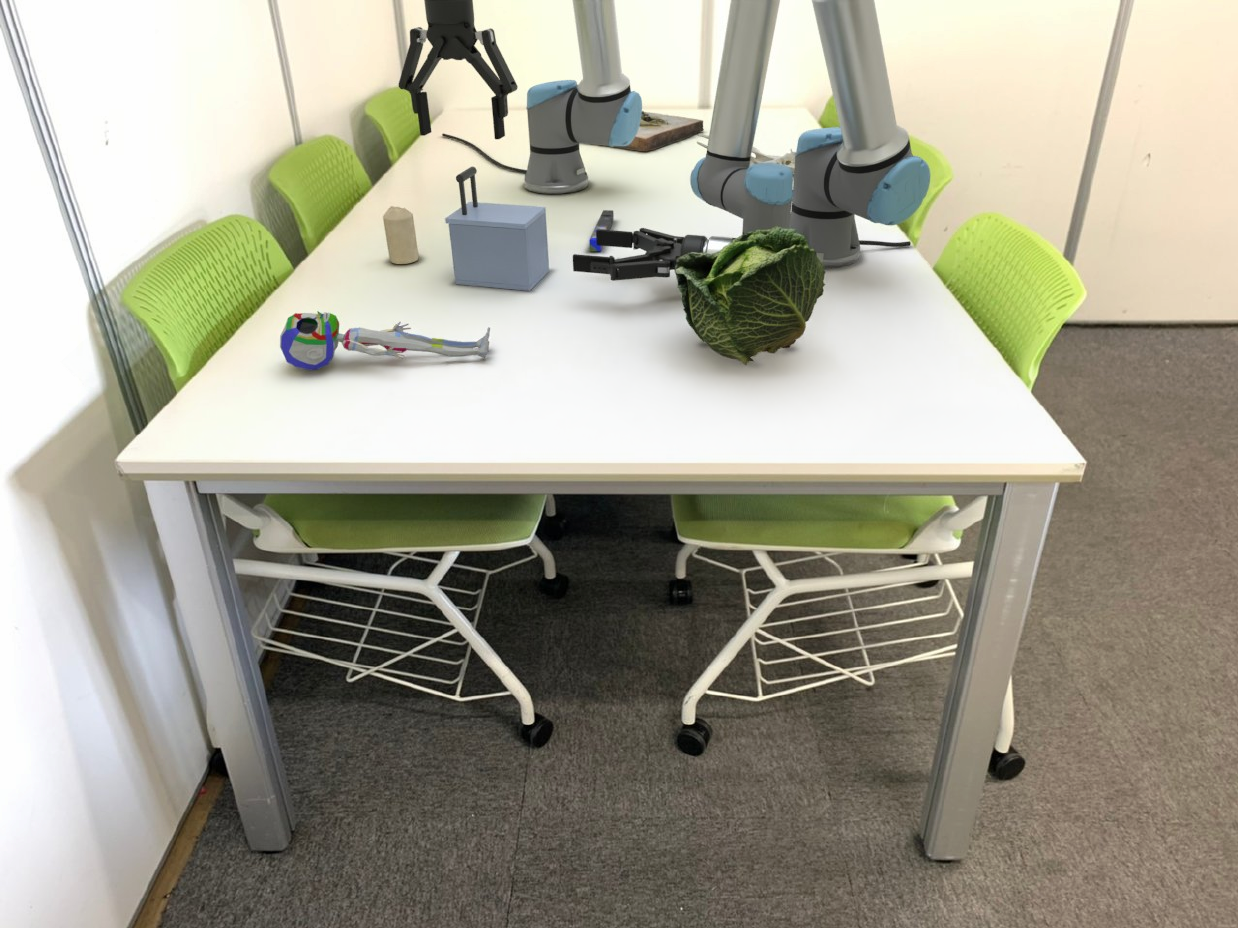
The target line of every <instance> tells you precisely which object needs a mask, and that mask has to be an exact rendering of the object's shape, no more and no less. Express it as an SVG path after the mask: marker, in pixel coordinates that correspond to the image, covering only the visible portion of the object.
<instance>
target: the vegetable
mask: <svg viewBox="0 0 1238 928" xmlns="http://www.w3.org/2000/svg"><path fill="white" fill-rule="evenodd" d="M735 238H736V239H734V240H732V241H731V243H730V244H728V245H725V246H723V248H722V249H721V250H720V251H718V252H715V253H713V254H709V253H695V252H691V253H688V254H685V255H683V256H682V257H679V258H678V259H677V261H676V262H677V264H676V266H675V270H673V271H674V273H675V278H676V282H677V287H676V288H677V290H678V291H679V292H680V293H681V303H682V306H683V312H684V313H685V320H686V322H687V323H688V325H689V327H690V328H691V329H692V330H693V332H694V333H695V335H697V337H698V338H699V339H700V340H701V341H702V342H703V343H705V344H706V345H707V346H708V347H709V349H711V350H712V351H713V352H715V354H716V353H717V354H718V355H720V356H722V357H724V358H727V359H732V360H737V361H739V362H741V363H742V364H743V365H745V366H747V365H748V363H749V362H753V363H754V362H755V360H754V359H753V357H755V356H756V355H758V354H760V353H762V352H764V353H768V354H775V353H776V352H778V350H781V349H789V348H791V346H792V345H795V343H796V341H797V340H798V339H800V338H801V337H802V336H803V335H804V334H805V332H806V328H807V324H806V323H807V322H809V320H810V319H811V316H812V314H813V311H814V307H815V305H816V304H817V303H818V302H817V301H818V299H819V298H820V297H822V296H823V295H824V291H825V290H824V286H825V285H826V283H825V282H824V281H825V274H826V271H825V268H823V264H822V262H821V261H820V260H819V258H818V257H817V253H816V252H815V250H814V249H809V247H808V242H807V239H806V237H805V236H803V235H800V234H798V233H796V230H795V229H782V228H781V227H778V226H776V227H774V228H772V229H769V230H756V231H751V232H747V233H745V234H743V235H742V234H741V235H739V236H738V237H735Z"/></svg>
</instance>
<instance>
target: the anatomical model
mask: <svg viewBox="0 0 1238 928" xmlns="http://www.w3.org/2000/svg"><path fill="white" fill-rule="evenodd" d="M697 137H699V138H704V139H707V140H709V135H707V134H704V133H697ZM696 144H697V145H699V146H701V147H703V148H704V149H706V150H707V146H708V145H707V144H705V143H703V142H699V141H696ZM789 150H790V153H789V152H787V153H785V154H784V155H782V156H781V155H771V154H765V153H763V152H761V151H760V149H758V148H757V147H755V146H753V148H752V153H751V154H754V155H755V157H754V156H752V155H751V159H750V165H749V167H750V166H751V165H754V164H758V163H775V164H783V165H786V166H788V167H789V168H790V169H791V170H792V172H793V175H794V169H795V153H796V151H793V149H792V148H790V149H789Z"/></svg>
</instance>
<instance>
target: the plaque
mask: <svg viewBox="0 0 1238 928" xmlns="http://www.w3.org/2000/svg"><path fill="white" fill-rule="evenodd" d="M704 130H705V129H704V120H702V119H698V118H693V117H685V116H679V115H669V114H663V113H659V112H650V111H644V110H642V115H641V121H640V125H639V129H638V132H637V134H636V136H635V138H634V140H633V141H632V142H631V143H630V144H629V145H627V146H613V147H612V148H620V149H625V150H632V151H640V152H648V151H654V150H656V149H659V148H662V147H663V146H664V147H665V146H667V145H670V144H672V143H676V142H680V141H682V140H684V139H687V138H691V137H692V136H694V135H696V134H699V133H700V132H704Z"/></svg>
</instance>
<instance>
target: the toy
mask: <svg viewBox="0 0 1238 928" xmlns="http://www.w3.org/2000/svg"><path fill="white" fill-rule="evenodd" d="M401 323H402V321H399V322H398V323H396V324H395V325H394V326H393V327H392V328H389V329H383V330H376V329H375V330H374V329H369V328H364V327H351V328H348V329H347V330H346V331H345V333H344V334H343V333H340V322H339V319H338V317H337V315H335V314H333V313H331V312H326V311H324V313H322V312H320V311H317V313H314V312H313V313H312V312H301V313H297V312H295V313H294V314H292V315H291V316H288V317H287V320H286V323H285V325H284V327H283V329H282V331H281V333H280V336H279V337H280V338H279V348H280V350H281V353H282V355H283V356H284V359H285V361H286V363H288V364H289V365H291V366H293V367H296V368H300V369H303V370H310V371H311V370H312V371H316V370H319V369H321V368H324V367H326V366H328V365H329V364H330V362H331V361H332V359H333V358H334V357H335V353H336V350H337V348H338V346H339V343H341V345H342V347H343V349H345V350H347V351H348V352H349V351H353V352H357V353H361V354H366V355H368V356H372V357H382V356H383V357H384V356H390V357H396V358H400V359H402V360H403V359H404V358H405V355H404V354H403V353H405V352H406V351H409V352H422V353H423V352H426V353H433V354H437V355H441V356H444V357H447V358H454V357H456V358H458V357H459V358H460V357H461V358H462V357H468V356H474V355H476V356H478V357H481V358H483V359H486V357H487V354H488V353H489V350H490V341H489V338H490V332H491V328H490V326H488V327H487V330H486V333H485V335H483V337H481V338H480V339H478V340H477V341H461V340H460V341H459V340H451V339H444V338H437V337H436V338H435V337H432V338H431V337H427V336H424V335H421V334H414V333H409V332H406V331H407V330H412V327H406V326H409V325H410V324H409V323H406V324H403V325H402V324H401ZM405 330H406V331H405ZM372 346H381V347H383V348H382V349H381V348H378V347H372ZM403 357H404V358H403Z"/></svg>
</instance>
